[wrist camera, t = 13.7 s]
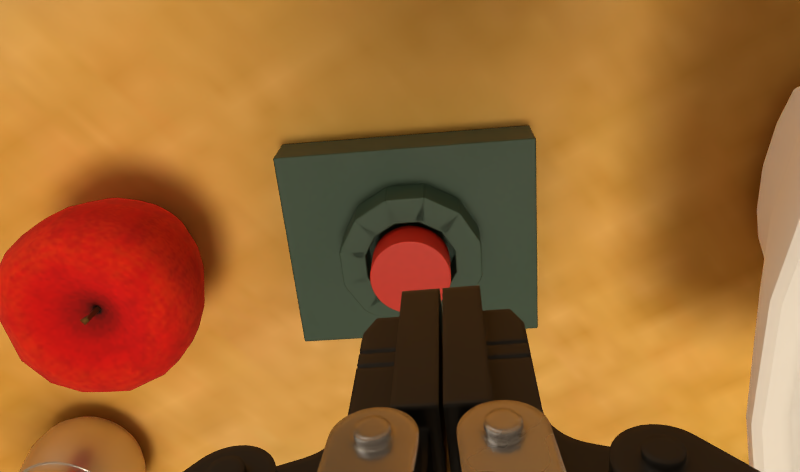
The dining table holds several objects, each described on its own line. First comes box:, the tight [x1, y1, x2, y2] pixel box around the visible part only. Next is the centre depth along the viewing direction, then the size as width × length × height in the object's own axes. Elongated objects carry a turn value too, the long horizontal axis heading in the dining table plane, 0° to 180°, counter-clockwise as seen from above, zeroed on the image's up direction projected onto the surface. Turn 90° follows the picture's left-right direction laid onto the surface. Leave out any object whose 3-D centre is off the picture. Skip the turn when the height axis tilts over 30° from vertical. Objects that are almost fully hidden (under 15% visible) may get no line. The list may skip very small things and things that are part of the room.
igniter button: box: [370, 226, 451, 311], centre depth 31 cm, size 4×4×2 cm
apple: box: [0, 198, 205, 392], centre depth 33 cm, size 9×9×8 cm
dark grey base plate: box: [273, 126, 538, 341], centre depth 33 cm, size 12×10×4 cm
